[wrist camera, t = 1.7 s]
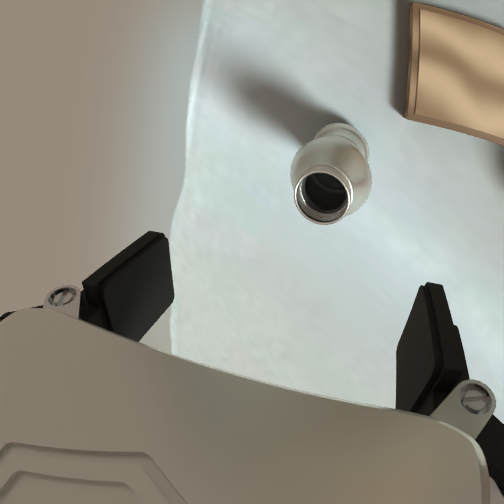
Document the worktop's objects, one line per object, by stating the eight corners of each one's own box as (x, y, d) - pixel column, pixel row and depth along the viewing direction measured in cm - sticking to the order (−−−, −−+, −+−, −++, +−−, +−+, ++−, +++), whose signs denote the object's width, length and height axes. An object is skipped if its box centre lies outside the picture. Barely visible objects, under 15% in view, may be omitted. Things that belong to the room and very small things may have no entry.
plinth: (409, 8, 26) (413, 1, 23) (513, 40, 22) (524, 37, 19) (403, 117, 32) (407, 119, 30) (505, 145, 29) (515, 149, 26)
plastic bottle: (341, 109, 34) (321, 123, 18) (380, 152, 35) (394, 207, 19) (303, 144, 38) (250, 190, 21) (341, 185, 39) (319, 263, 22)
